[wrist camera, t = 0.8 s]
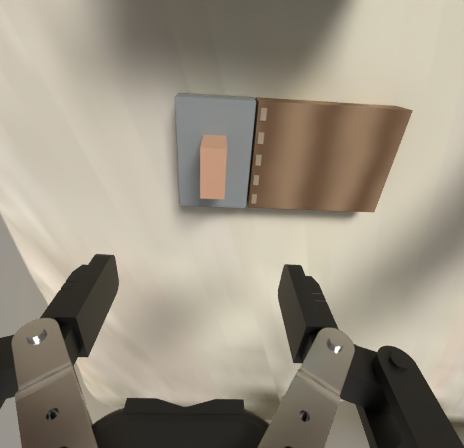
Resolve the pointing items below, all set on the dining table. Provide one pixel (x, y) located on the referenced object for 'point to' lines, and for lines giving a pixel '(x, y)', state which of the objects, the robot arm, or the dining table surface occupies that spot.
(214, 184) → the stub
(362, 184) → the board
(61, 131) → the dining table surface
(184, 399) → the dining table surface
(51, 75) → the dining table surface
